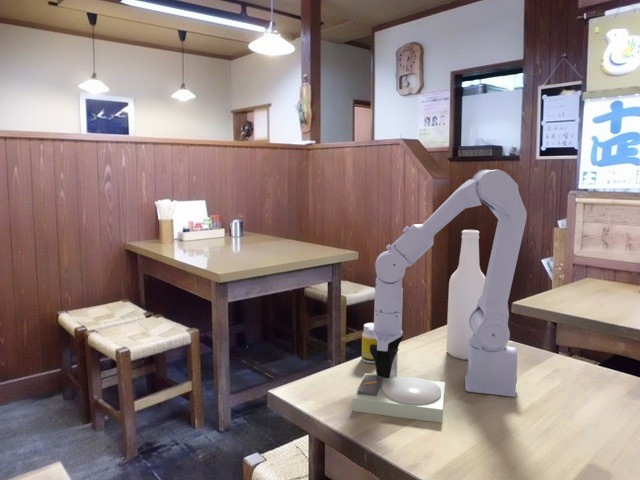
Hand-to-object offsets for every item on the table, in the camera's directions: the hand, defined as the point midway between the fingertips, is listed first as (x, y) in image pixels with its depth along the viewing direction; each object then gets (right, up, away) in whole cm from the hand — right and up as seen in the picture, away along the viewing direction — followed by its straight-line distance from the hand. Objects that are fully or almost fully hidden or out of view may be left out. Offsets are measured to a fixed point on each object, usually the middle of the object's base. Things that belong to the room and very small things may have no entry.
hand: (386, 372), depth 107 cm
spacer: (0, -2, 0) cm, 2 cm away
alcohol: (+21, 0, +16) cm, 27 cm away
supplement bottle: (-2, 0, +12) cm, 12 cm away
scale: (+2, -3, -9) cm, 10 cm away
